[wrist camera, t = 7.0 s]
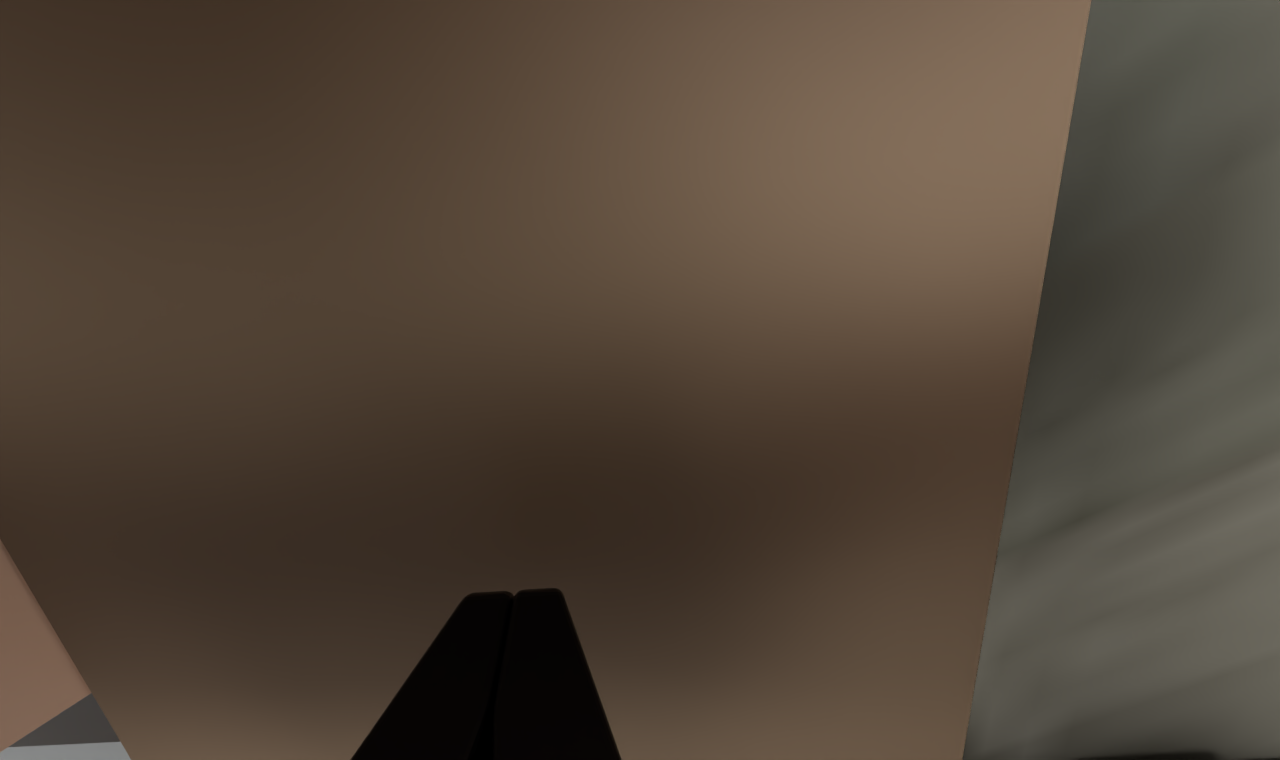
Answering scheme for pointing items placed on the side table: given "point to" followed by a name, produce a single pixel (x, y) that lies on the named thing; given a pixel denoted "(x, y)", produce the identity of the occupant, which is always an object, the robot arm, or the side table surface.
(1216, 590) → the side table surface
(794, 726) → the stepped beige slab
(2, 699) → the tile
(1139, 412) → the side table surface
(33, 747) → the tray
